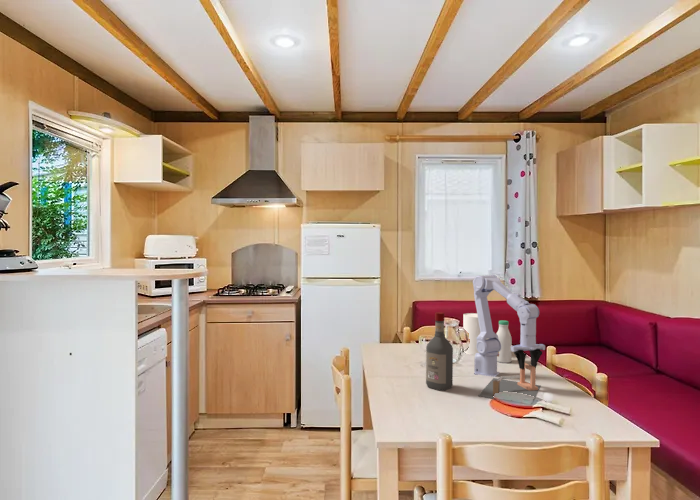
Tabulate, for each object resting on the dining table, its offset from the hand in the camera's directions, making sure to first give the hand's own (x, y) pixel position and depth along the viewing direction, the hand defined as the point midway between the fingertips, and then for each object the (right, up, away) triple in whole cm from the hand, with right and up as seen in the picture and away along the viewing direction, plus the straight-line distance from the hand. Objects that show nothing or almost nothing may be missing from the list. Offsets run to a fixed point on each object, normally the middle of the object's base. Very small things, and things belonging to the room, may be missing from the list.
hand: (527, 368), depth 176 cm
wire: (-10, -8, -6) cm, 14 cm away
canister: (-4, -7, +57) cm, 58 cm away
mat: (-8, -8, -4) cm, 12 cm away
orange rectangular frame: (0, -8, 0) cm, 8 cm away
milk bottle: (+4, -8, +41) cm, 42 cm away
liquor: (-35, -8, +1) cm, 36 cm away
